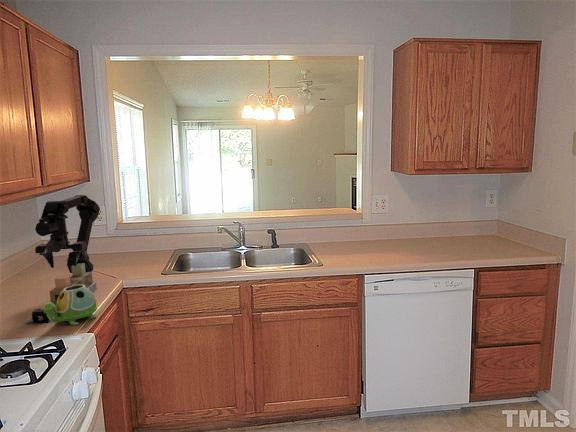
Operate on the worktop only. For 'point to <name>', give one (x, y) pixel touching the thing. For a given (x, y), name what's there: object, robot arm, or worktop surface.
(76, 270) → the block
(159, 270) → the worktop surface
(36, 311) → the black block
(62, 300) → the turtle holder
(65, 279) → the salmon brown cube
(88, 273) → the pallet
